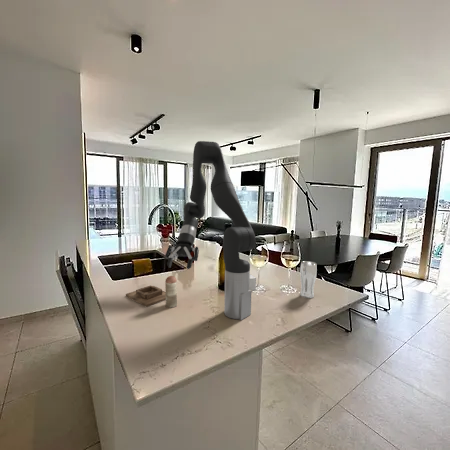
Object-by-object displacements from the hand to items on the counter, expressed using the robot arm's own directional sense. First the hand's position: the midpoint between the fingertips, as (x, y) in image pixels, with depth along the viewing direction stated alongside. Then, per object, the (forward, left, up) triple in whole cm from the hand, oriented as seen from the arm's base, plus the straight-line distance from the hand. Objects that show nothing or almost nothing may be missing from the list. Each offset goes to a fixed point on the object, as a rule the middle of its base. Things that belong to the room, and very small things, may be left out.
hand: (178, 267), depth 111 cm
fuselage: (-4, +7, -13) cm, 16 cm away
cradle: (+10, +8, -13) cm, 18 cm away
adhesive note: (-16, -29, -14) cm, 36 cm away
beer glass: (-41, -40, -13) cm, 59 cm away
